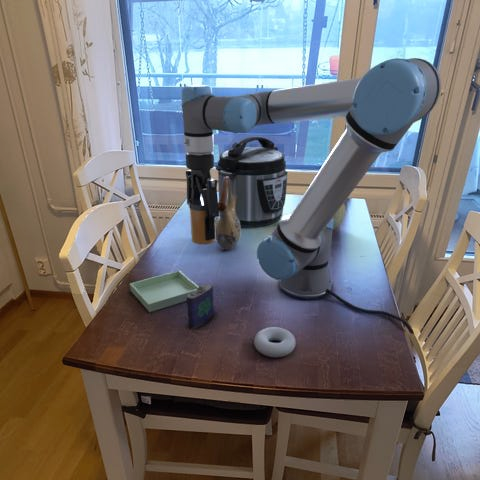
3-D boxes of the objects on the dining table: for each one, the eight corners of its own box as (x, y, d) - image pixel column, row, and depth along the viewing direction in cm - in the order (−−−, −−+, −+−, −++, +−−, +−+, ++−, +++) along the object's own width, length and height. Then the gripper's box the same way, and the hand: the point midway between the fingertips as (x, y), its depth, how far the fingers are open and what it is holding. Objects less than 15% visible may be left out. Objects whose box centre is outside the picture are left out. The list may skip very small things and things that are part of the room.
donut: (298, 360, 98) (292, 334, 107) (299, 348, 97) (293, 323, 105) (255, 361, 98) (252, 335, 106) (255, 349, 96) (252, 324, 104)
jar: (221, 241, 124) (220, 202, 117) (198, 246, 120) (196, 207, 114) (209, 233, 129) (207, 195, 123) (186, 238, 126) (183, 199, 119)
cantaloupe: (326, 240, 158) (330, 200, 150) (297, 229, 168) (300, 191, 160) (351, 231, 166) (357, 192, 158) (322, 220, 176) (326, 184, 167)
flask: (209, 311, 116) (207, 276, 110) (217, 314, 115) (216, 279, 109) (186, 326, 110) (183, 290, 104) (194, 330, 108) (192, 294, 103)
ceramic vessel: (234, 258, 145) (233, 184, 131) (209, 255, 147) (206, 182, 133) (245, 240, 158) (246, 171, 144) (222, 237, 160) (220, 169, 146)
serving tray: (201, 296, 123) (201, 288, 122) (149, 312, 116) (148, 304, 114) (179, 277, 133) (179, 270, 132) (130, 290, 126) (129, 283, 124)
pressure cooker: (224, 233, 164) (222, 146, 146) (209, 210, 187) (206, 132, 169) (296, 226, 170) (303, 142, 153) (274, 204, 193) (277, 129, 176)
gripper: (170, 147, 117) (177, 226, 129) (205, 161, 102) (209, 249, 115) (194, 144, 120) (198, 222, 133) (231, 157, 106) (232, 243, 118)
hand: (203, 234), depth 124 cm, fingers closed on jar, 7 cm apart
